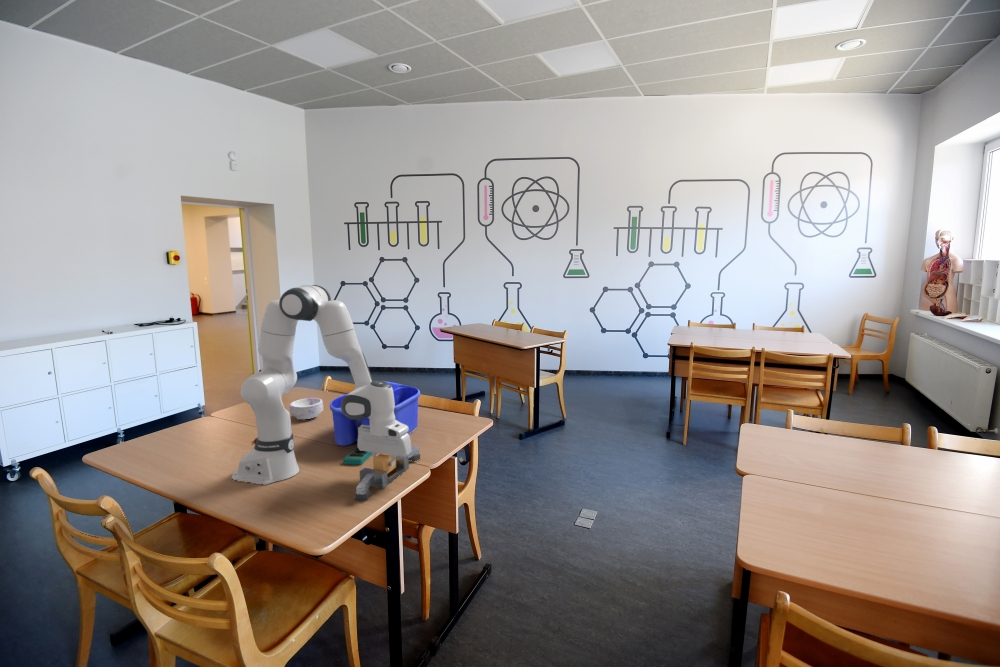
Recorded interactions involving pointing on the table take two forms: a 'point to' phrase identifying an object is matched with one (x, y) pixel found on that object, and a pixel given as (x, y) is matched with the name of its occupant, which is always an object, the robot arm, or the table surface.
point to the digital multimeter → (357, 457)
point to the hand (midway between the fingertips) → (384, 464)
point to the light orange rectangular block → (383, 462)
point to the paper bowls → (306, 408)
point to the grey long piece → (383, 475)
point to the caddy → (349, 428)
